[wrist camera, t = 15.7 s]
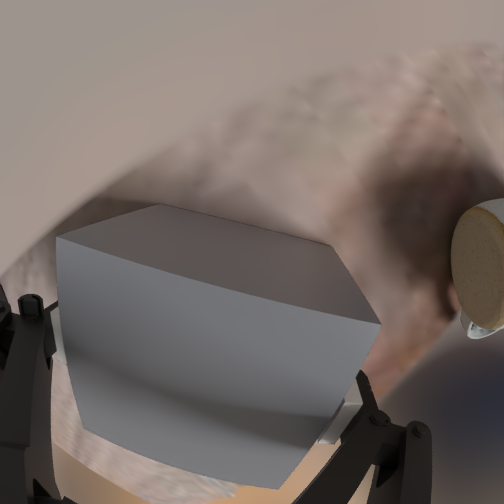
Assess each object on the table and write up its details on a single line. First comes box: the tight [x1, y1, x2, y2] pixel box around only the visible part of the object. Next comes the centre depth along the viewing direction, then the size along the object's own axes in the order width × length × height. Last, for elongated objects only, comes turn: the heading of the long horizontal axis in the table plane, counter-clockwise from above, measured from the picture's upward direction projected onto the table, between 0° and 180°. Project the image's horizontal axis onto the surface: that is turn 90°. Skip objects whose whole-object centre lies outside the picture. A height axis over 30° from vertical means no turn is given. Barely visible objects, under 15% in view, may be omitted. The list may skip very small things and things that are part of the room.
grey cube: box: [56, 204, 382, 489], centre depth 13 cm, size 10×10×9 cm
